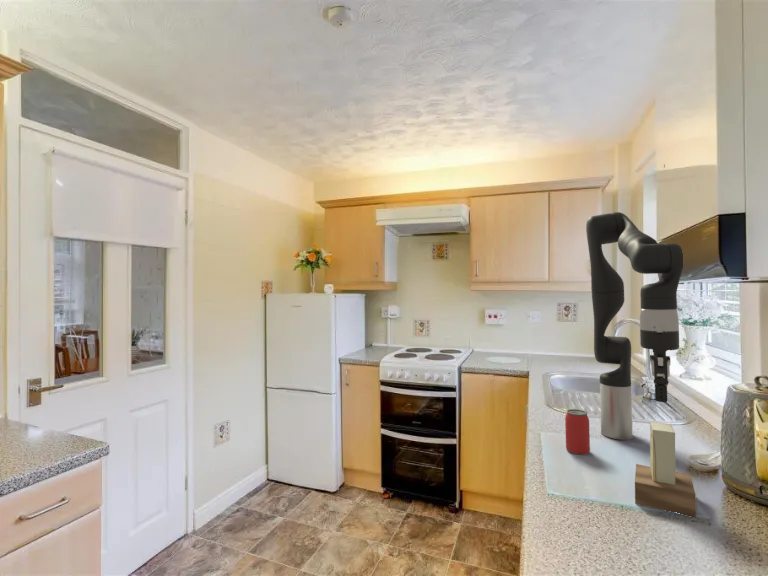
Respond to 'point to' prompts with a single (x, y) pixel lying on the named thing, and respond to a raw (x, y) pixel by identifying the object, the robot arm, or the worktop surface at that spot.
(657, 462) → the skincare box
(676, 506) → the walnut block
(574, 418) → the beer can
